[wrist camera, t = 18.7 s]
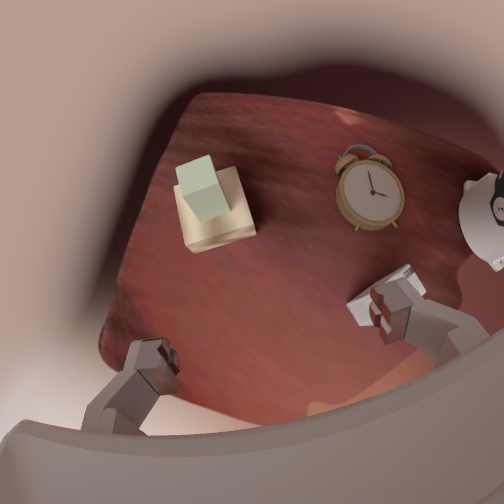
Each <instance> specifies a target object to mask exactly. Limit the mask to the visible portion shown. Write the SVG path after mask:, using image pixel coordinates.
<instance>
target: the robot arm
mask: <svg viewBox="0 0 504 504" xmlns="http://www.w3.org/2000/svg"><path fill="white" fill-rule="evenodd" d="M459 220H460V226H461V229H462V232H463V235H464V237H465V239H466V241H467V243H468V245H469V247H470V248H471V249H472V251H473V252H474V253H475V254H476V255H477V256H478V257H480V258H481V259H483V260H485V261H487V262H488V263H489V264H490V265H491V267H492V268H493V269H494V270H495V271H499V270H501V269H502V268H503V267H504V169H503V170H502V171H501V173H500V174H499V175H497V174H495V173H493V174H491V173H488V174H487V175H485V176H484V177H483V178H481V179H480V180H479V181H469V180H468V181H466V182H465V183H464V194H463V197H462V199H461V202H460V205H459ZM370 297H371V299H372V301H371V302H370V304H369V313H370V318H371V320H372V323H373V324H374V326H375V327H377V328H380V330H379V335H380V337H381V338H382V340H383V342H384V343H385V345H389V344H391V343H394V342H397V341H400V340H402V339H404V340H405V341H407V342H408V343H410V344H411V345H413V346H415V347H416V348H418V349H420V350H421V351H423V352H424V353H426V354H428V355H429V356H431V357H433V358H434V359H436V360H437V361H436V363H435V365H434V368H433V370H432V371H430V372H428V373H427V374H424V375H422V376H420V377H418V378H416V379H414V380H412V381H409V382H407V383H405V384H403V385H400V386H398V387H396V388H393V389H391V390H388V391H386V392H383V393H381V394H378V395H376V396H373V397H370V398H368V399H365V400H362V401H359V402H356V403H353V404H350V405H347V406H344V407H340V408H337V409H334V410H331V411H327V412H324V413H320V414H316V415H312V416H309V417H304V418H300V419H296V420H292V421H287V422H283V423H278V424H273V425H267V426H262V427H256V428H250V429H243V430H236V431H227V432H219V433H208V434H194V435H170V436H147V435H146V434H145V433H144V432H142V431H141V430H139V427H140V426H141V424H142V422H143V421H144V420H145V418H146V417H147V415H148V413H149V412H150V410H151V409H152V407H153V406H154V404H155V403H156V401H157V400H158V398H159V396H160V395H170V394H178V386H179V380H178V378H177V377H176V376H177V375H178V373H179V372H180V359H179V356H178V354H177V352H176V351H175V350H174V349H172V348H170V344H171V343H170V341H169V340H168V338H167V337H160V338H152V339H144V340H138V341H133V342H132V343H131V345H130V348H129V351H128V355H127V358H126V362H125V365H124V369H123V371H120V372H119V373H118V374H117V375H116V376H115V377H114V378H113V379H112V380H111V381H110V383H108V385H107V386H106V387H105V388H104V389H103V390H102V391H101V392H100V393H99V394H98V395H97V396H96V397H95V398H94V399H93V400H92V401H91V403H90V404H89V405H88V406H87V408H86V412H85V415H84V419H83V423H82V427H81V430H76V429H69V428H63V427H58V426H53V425H48V424H44V423H39V422H35V421H31V420H22V421H21V422H19V423H18V424H17V425H16V426H15V427H13V429H11V431H9V432H8V433H7V434H6V436H5V437H4V438H3V440H2V441H1V443H0V504H504V327H503V328H502V329H501V330H499V331H498V332H496V333H495V334H494V335H492V336H491V337H490V336H489V334H488V333H487V332H486V331H485V329H484V328H483V327H482V326H481V325H480V324H479V322H478V321H477V320H476V319H475V317H473V316H470V315H468V314H465V313H462V312H460V311H457V310H455V309H452V308H450V307H447V306H444V305H442V304H439V303H437V302H434V301H431V300H429V299H428V300H425V299H424V298H423V297H422V296H421V295H420V293H419V292H418V291H417V290H416V289H415V288H414V287H413V285H412V284H411V283H410V282H409V281H408V280H407V279H406V278H405V277H402V278H399V279H396V280H393V281H390V282H387V283H384V284H381V285H378V286H375V287H372V288H371V290H370Z"/></svg>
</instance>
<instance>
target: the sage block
mask: <svg viewBox="0 0 504 504" xmlns="http://www.w3.org/2000/svg"><path fill="white" fill-rule="evenodd" d="M175 169H176V173H177V177H178V182H179V186H180V190H181V194H182V197H183V199H184V200H185V201H186V203H187V204H188V206H189V207H190V209H191V210H192V211H193V213H194V214H195V216H196V217H197V218H198V220H199V221H200V223H202V222H205V221H207V220H210V219H213V218H215V217H218V216H221V215H224V214H226V213H229V212H231V211H230V208H229V205H228V202H227V200H226V197H225V194H224V191H223V188H222V185H221V183H220V180H219V178H218V175H217V173H216V170H215V168H214V165H213V163H212V160H211V158H210V155H207V156H204V157H202V158H199V159H196V160H194V161H191V162H189V163H186V164H184V165H181V166H179V167H176V168H175Z"/></svg>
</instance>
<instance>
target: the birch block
mask: <svg viewBox="0 0 504 504" xmlns="http://www.w3.org/2000/svg"><path fill="white" fill-rule="evenodd" d="M216 173H217V175H218V178H219V180H220V183H221V185H222V188H223V191H224V194H225V197H226V200H227V202H228V205H229V208H230V211H231V212H229V213H226V214H224V215H221V216H218V217H215V218H213V219H210V220H207V221H205V222H202V223H200V221H199V220H198V218H197V217H196V216H195V214H194V213H193V211H192V210H191V209H190V207H189V206H188V204H187V203H186V201H185V200H184V199H183V197H182V194H181V190H180V186H179V185H176V186H174V192H175V197H176V202H177V208H178V213H179V218H180V223H181V227H182V232H183V237H184V242H185V246H186V247H188V248H189V249H190V250H191V251H192V252H193V253H195V254H196V253H199V252H202V251H205V250H208V249H212V248H215V247H218V246H221V245H224V244H227V243H231V242H234V241H237V240H240V239H244V238H247V237H250V236H253V235H256V230H255V226H254V223H253V220H252V216H251V213H250V210H249V207H248V204H247V201H246V198H245V195H244V191H243V188H242V185H241V182H240V179H239V176H238V173H237V170H236V167H235V166H233V167H229V168H226V169H223V170H220V171H217V172H216Z"/></svg>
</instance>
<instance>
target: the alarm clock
mask: <svg viewBox="0 0 504 504" xmlns="http://www.w3.org/2000/svg"><path fill="white" fill-rule="evenodd" d="M358 148H359V149H365V150H367V151H369V152H371V153H372V154H373V155H371V156H369V157H368V159H367V160H360V161H359V158H358V157H357V156H356V155H354V154H347V153H348V152H349V151H350V150H352V149H358ZM346 154H347V155H346ZM338 158H339V160H338V161H337V163H336V165H335V171H336V173H337V175H338V176H340V175H341V174H340V171H341V170H342V169H346V170H345V171H344V172H343V173H342V176H341V178H340V180H339V182H338V185H337V188H336V201H337V204H338V207H339V210H340V211H341V213H342V214H343V216H344V217H345V218H346V219H347V220H348V221H349V222H351V223H352V224H353V225H354V226H356V227H355V231H357V230H358V229H359V228H361V229H364V230H373V231H375V230H379V229H383V228H385V227H386V226H388V225H389V224H390V223H392V224H393V226H394V227H395V228H397V227H398V226H397V224H396V222H395V221H394V220H396V219H397V218H398V217H399V215H400V214H401V212H402V210H403V206H404V202H405V198H404V190H403V187H402V185H401V183H400V180H399V179H398V178H397V176H396V175H395V174H394V172H393V171H392V164H391V162H390V160H389V159H388V158H387V157H386V156H384V155H381V154H378V153H377V152H376V151H375V150H373V149H372V148H370V147H368V146H366V145H360V144H359V145H353V146H351V147H349V148H348V149H347V151H346V152H345V154H344V155H343V156H339V157H338Z"/></svg>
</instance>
